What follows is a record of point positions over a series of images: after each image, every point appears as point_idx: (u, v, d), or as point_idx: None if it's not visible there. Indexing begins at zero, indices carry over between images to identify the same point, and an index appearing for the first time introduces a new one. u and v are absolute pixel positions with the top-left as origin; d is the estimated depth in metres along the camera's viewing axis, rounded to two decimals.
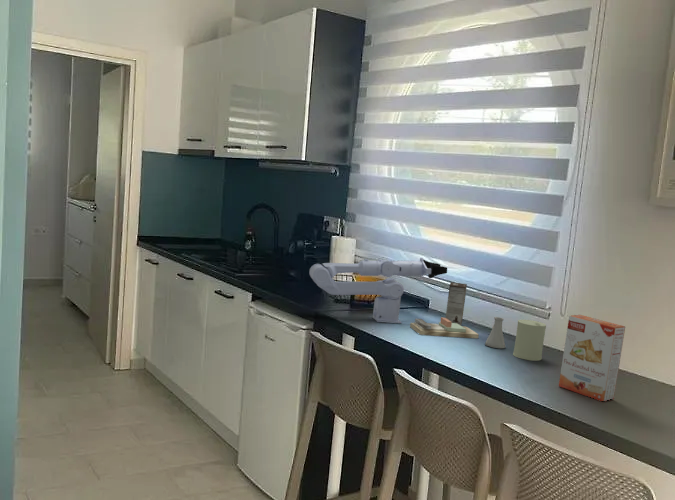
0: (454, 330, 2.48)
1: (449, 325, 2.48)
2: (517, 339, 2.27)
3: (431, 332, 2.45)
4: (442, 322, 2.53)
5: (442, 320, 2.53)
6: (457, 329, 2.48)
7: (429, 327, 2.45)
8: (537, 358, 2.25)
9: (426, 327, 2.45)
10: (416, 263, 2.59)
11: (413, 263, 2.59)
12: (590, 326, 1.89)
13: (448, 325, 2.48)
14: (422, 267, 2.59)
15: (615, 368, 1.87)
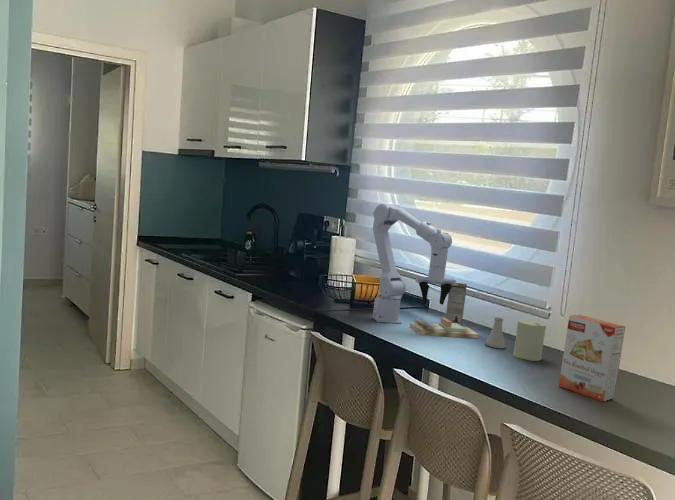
0: (454, 330, 2.48)
1: (449, 325, 2.48)
2: (517, 339, 2.27)
3: (431, 332, 2.45)
4: (442, 322, 2.53)
5: (442, 320, 2.53)
6: (457, 329, 2.48)
7: (429, 327, 2.45)
8: (537, 358, 2.25)
9: (426, 327, 2.45)
10: (434, 272, 2.46)
11: (434, 269, 2.46)
12: (590, 326, 1.89)
13: (448, 325, 2.48)
14: (429, 277, 2.47)
15: (615, 368, 1.87)
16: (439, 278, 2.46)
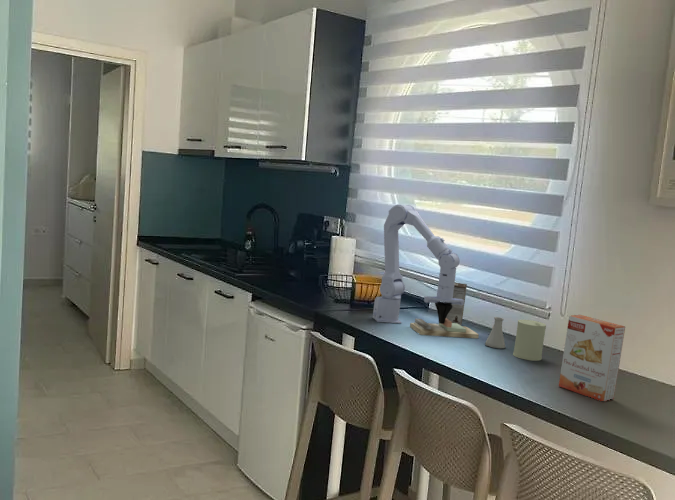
0: (454, 330, 2.48)
1: (449, 325, 2.48)
2: (517, 339, 2.27)
3: (431, 332, 2.45)
4: None
5: None
6: (457, 329, 2.48)
7: (429, 327, 2.45)
8: (537, 358, 2.25)
9: (426, 327, 2.45)
10: (442, 292, 2.48)
11: (442, 289, 2.48)
12: (590, 326, 1.89)
13: (448, 325, 2.48)
14: (437, 297, 2.49)
15: (615, 368, 1.87)
16: (447, 298, 2.48)
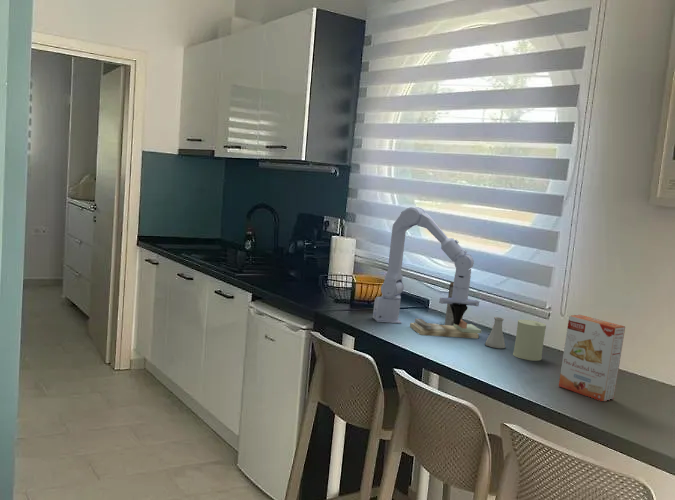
0: (469, 331, 2.49)
1: (464, 326, 2.50)
2: (517, 339, 2.27)
3: (431, 332, 2.45)
4: None
5: None
6: (472, 330, 2.49)
7: (429, 327, 2.45)
8: (537, 358, 2.25)
9: (426, 327, 2.45)
10: (457, 294, 2.49)
11: (458, 290, 2.49)
12: (590, 326, 1.89)
13: (463, 326, 2.50)
14: (453, 299, 2.50)
15: (615, 368, 1.87)
16: (463, 299, 2.49)
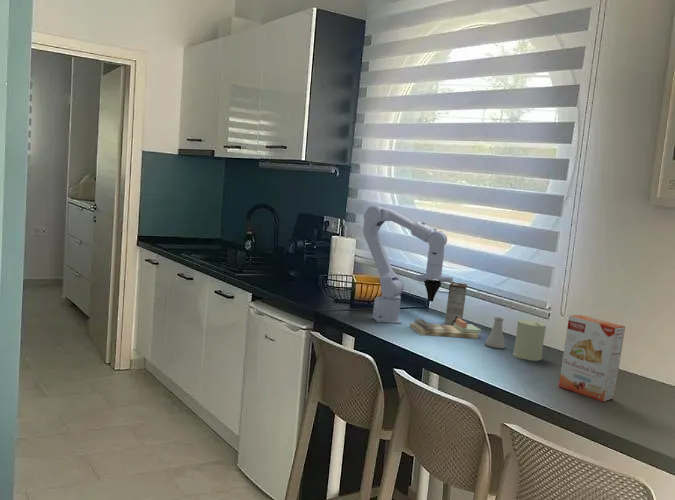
0: (469, 331, 2.49)
1: (464, 326, 2.50)
2: (517, 339, 2.27)
3: (431, 332, 2.45)
4: (457, 323, 2.54)
5: (457, 321, 2.54)
6: (472, 330, 2.49)
7: (429, 327, 2.45)
8: (537, 358, 2.25)
9: (426, 327, 2.45)
10: (431, 270, 2.52)
11: (431, 267, 2.52)
12: (590, 326, 1.89)
13: (463, 326, 2.50)
14: (426, 275, 2.53)
15: (615, 368, 1.87)
16: (436, 276, 2.52)
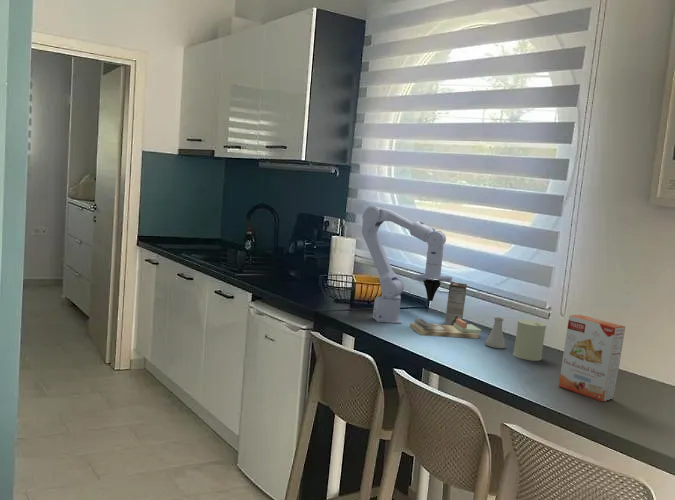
0: (469, 331, 2.49)
1: (464, 326, 2.50)
2: (517, 339, 2.27)
3: (431, 332, 2.45)
4: (457, 323, 2.54)
5: (457, 321, 2.54)
6: (472, 330, 2.49)
7: (429, 327, 2.45)
8: (537, 358, 2.25)
9: (426, 327, 2.45)
10: (430, 270, 2.52)
11: (430, 267, 2.52)
12: (590, 326, 1.89)
13: (463, 326, 2.50)
14: (426, 275, 2.53)
15: (615, 368, 1.87)
16: (435, 275, 2.52)
